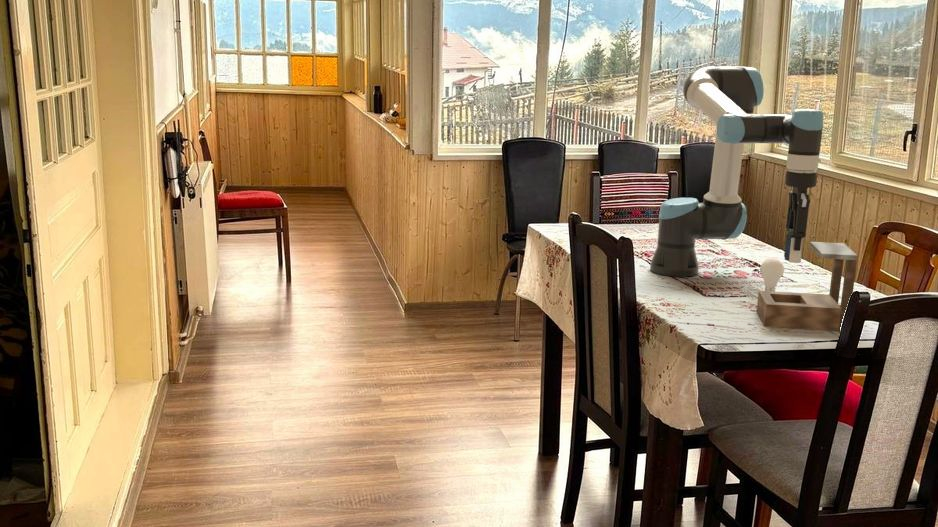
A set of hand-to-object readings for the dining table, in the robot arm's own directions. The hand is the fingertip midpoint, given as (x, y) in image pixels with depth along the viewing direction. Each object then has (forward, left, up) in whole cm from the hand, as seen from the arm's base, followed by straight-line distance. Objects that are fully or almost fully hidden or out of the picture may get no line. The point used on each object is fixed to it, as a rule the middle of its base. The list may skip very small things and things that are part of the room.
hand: (792, 259), depth 226 cm
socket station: (+4, 0, -17) cm, 17 cm away
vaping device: (0, 0, -1) cm, 1 cm away
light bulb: (0, +25, -17) cm, 30 cm away
